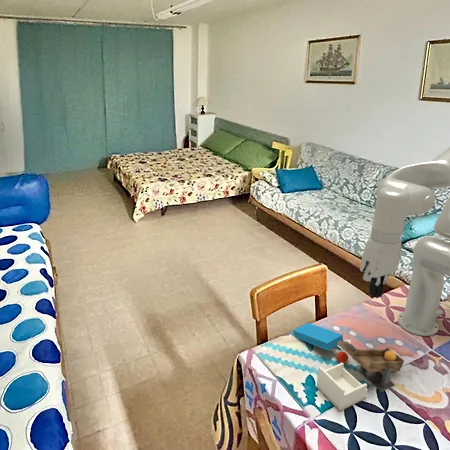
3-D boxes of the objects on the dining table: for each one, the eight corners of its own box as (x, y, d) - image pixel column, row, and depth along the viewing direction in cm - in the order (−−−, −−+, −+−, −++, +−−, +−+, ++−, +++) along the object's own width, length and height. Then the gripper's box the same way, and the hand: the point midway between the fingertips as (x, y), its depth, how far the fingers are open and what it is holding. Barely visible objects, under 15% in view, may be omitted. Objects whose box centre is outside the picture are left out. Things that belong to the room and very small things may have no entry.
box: (341, 375, 113) (344, 356, 110) (366, 398, 106) (370, 377, 103) (316, 387, 109) (318, 367, 106) (339, 411, 102) (343, 390, 99)
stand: (367, 362, 118) (369, 347, 116) (394, 385, 110) (398, 370, 108) (354, 368, 116) (357, 353, 114) (381, 392, 108) (384, 376, 105)
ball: (387, 356, 116) (391, 347, 115) (396, 363, 113) (400, 354, 112) (380, 358, 114) (383, 349, 113) (389, 365, 111) (392, 356, 110)
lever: (296, 350, 130) (339, 369, 115) (293, 330, 129) (337, 347, 114) (310, 342, 134) (355, 359, 119) (308, 322, 132) (352, 338, 118)
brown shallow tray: (364, 348, 123) (370, 335, 122) (397, 374, 112) (404, 360, 111) (334, 347, 115) (340, 333, 114) (366, 376, 105) (374, 361, 104)
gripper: (394, 225, 110) (383, 282, 117) (354, 234, 103) (345, 295, 110) (418, 234, 103) (404, 295, 110) (376, 245, 97) (365, 309, 104)
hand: (375, 295), depth 110 cm, fingers closed
